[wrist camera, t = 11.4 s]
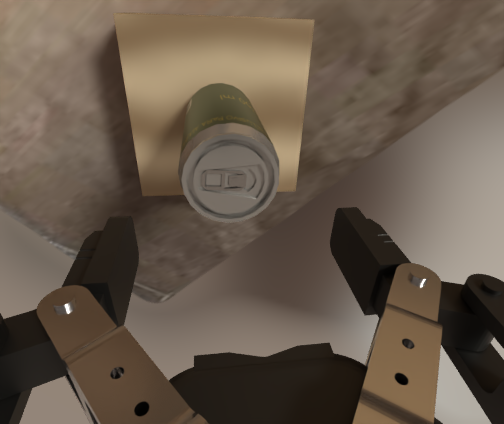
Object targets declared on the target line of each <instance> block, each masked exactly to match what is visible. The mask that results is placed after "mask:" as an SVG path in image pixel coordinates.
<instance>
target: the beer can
mask: <svg viewBox="0 0 504 424" xmlns="http://www.w3.org/2000/svg"><path fill="white" fill-rule="evenodd" d="M178 175H179V180H180V185H181V187H182V189H183V191H184V195H185V196H186V198H187V200H188V201H189V203H190V205H191V206H192V207H193V208H194V209H195V210H196V211H198V212H199V213H200V214H201V215H203V216H205V217H207V218H209V219H212V220H214V221H220V222H227V223H230V222H239V221H244V220H246V219H249V218H251V217H254V216H256V215H257V214H259V213H260V212H261V211H262V210H264V209H265V208H266V207H267V206H268V205H269V203H270V202H271V201H272V199H273V198H274V197H275V194H276V191H277V188H278V185H279V175H280V174H279V158H278V156H277V153H276V150H275V148H274V146H273V144H272V142H271V140H270V138H269V136H268V134H267V132H266V130H265V129H264V127H263V125H262V123H261V121H260V119H259V117H258V115H257V114H256V112H255V110H254V108H253V106H252V104H251V102H250V100H249V99H248V98H247V97H246V95H245V94H244V93H243V92H242V91H241V90H239V89H237V88H236V87H234V86H232V85H228V84H224V83H216V84H209V85H207V86H205V87H203V88H201V89H199V90H198V91H197V92H196V93H195V94H194V95H193V96H192V98H191V100H190V102H189V104H188V105H187V111H186V117H185V124H184V131H183V138H182V146H181V153H180V160H179V167H178Z"/></svg>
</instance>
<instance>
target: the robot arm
mask: <svg viewBox="0 0 504 424" xmlns="http://www.w3.org/2000/svg"><path fill="white" fill-rule="evenodd" d="M330 247H331V252H332V255H333V256H334V258H335V260H336V262H337V264H338V266H339V268H340V270H341V272H342V273H343V275H344V277H345V279H346V281H347V283H348V284H349V287H350V288H351V290H352V292H353V294H354V296H355V298H356V300H357V301H358V303H359V305H360V307H361V309H362V311H363V313H364V314H365V315H374V314H377V315H378V317H379V321H378V324H377V327H376V330H375V333H374V337H373V340H372V343H371V346H370V350H369V353H368V356H367V360H366V363H365V365H364V364H362V363H360V362H358V361H356V360H354V359H352V358H349V357H346V356H342V355H339V354H334V353H333V351H332V348H331V346H330V343H321V344H311V345H301V346H296V347H293V348H290V349H287V350H284V351H282V352H279V353H276V354H273V355H271V356H268V357H258V356H251V355H244V354H236V353H219V354H208V355H197V356H194V367H193V368H190V369H187V370H185V371H183V372H181V373H179V374H178V375H176V376H174V377H173V378H171V379H170V380H169V381H168V380H167V378H166V377H165V376H164V374H163V373H162V372H161V371H160V369H159V368H158V367H157V366H156V365H155V363H154V362H153V361H152V360H151V358H150V357H149V356H148V355H147V353H146V352H145V351H144V350H143V348H142V347H141V346H140V345H139V343H138V342H137V341H136V340H135V338H134V337H133V336H132V335H131V333H130V332H129V331H128V330H127V329H126V327H125V326H124V322H125V318H126V313H127V310H128V305H129V301H130V297H131V293H132V289H133V284H134V280H135V276H136V272H137V267H138V261H139V253H138V246H137V240H136V235H135V230H134V224H133V220H132V217H131V216H124V217H110V218H109V219H108V221H107V224H106V226H105V228H104V231H94V232H93V233H92V234H91V235H90V236H89V237H87V238H86V239H85V240H84V242H83V245H82V247H81V249H80V251H79V253H78V255H77V257H76V260H75V261H74V263H73V265H72V267H71V269H70V271H69V273H68V275H67V277H66V279H65V281H64V284H63V285H62V287H61V288H59V289H56V290H54V291H52V292H51V293H49V294H48V295H47V296H45V297H44V298H43V299H42V300H41V301H40V303H39V304H38V306H37V309H35V310H33V311H29V312H26V313H23V314H19V315H16V316H13V317H9V318H6V319H3V317H2V316H1V314H0V424H19V423H20V420H21V417H22V415H23V412H24V409H25V407H26V404H27V401H28V398H29V396H30V393H31V390H32V388H33V387H36V386H39V385H42V384H44V383H47V382H50V381H52V380H55V379H57V378H60V377H63V376H65V378H66V380H67V381H68V383H69V385H70V387H71V389H72V391H73V392H74V394H75V396H76V398H77V400H78V402H79V403H80V405H81V407H82V409H83V411H84V413H85V415H86V416H87V418H88V420H89V422H90V424H443V423H441V422H440V421H439V420H437V419H436V418H435V417H434V414H435V403H436V392H437V380H438V370H439V360H440V348H441V345H442V347H443V348H444V350H445V352H446V353H447V354H448V356H449V358H450V359H451V361H452V362H453V364H454V365H455V367H456V369H457V370H458V372H459V373H460V375H461V376H462V378H463V380H464V381H465V383H466V384H467V386H468V387H469V389H470V390H471V392H472V394H473V395H474V397H475V398H476V400H477V401H478V403H479V404H480V406H481V408H482V409H483V411H484V412H485V414H486V415H487V417H488V419H489V420H490V422H491V423H492V424H504V360H503V358H502V357H501V356H500V355H499V353H498V352H497V351H496V350H495V348H494V347H493V346H492V344H491V341H492V340H493V338H494V337H495V339H496V340H497V341H498V342H499V344H500V345H501V346H502V347H503V348H504V282H503V281H501V280H499V279H497V278H494V277H491V276H489V275H484V274H474V275H471V276H469V277H468V279H467V280H466V282H465V284H464V285H462V284H455V283H449V282H443V281H441V280H440V278H439V277H438V276H437V274H435V273H434V272H433V271H432V270H430V269H428V268H426V267H424V266H422V265H419V264H414V263H411V262H410V261H409V260H408V258H407V257H406V256H405V255H404V254H403V252H402V251H401V250H400V249H399V248H398V246H397V245H396V244H395V243H394V242H393V240H392V239H391V238H390V236H388V235H387V233H386V232H385V230H384V229H383V228H382V227H381V226H380V225H379V224H377V223H375V222H374V221H373V220H371V219H366V218H365V216H364V215H363V214H362V213H361V211H360V210H359V209H358V208H357V207H352V208H338V209H337V210H336V214H335V218H334V223H333V229H332V233H331V239H330Z"/></svg>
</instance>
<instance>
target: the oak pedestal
mask: <svg viewBox="0 0 504 424" xmlns="http://www.w3.org/2000/svg"><path fill="white" fill-rule="evenodd" d="M113 15H114V21H115V27H116V34H117V40H118V46H119V52H120V59H121V65H122V71H123V77H124V83H125V90H126V96H127V102H128V108H129V115H130V121H131V127H132V133H133V140H134V146H135V152H136V158H137V165H138V171H139V177H140V183H141V190H142V196H165V195H184V191H183V189H182V187H181V185H180V180H179V175H178V167H179V160H180V153H181V146H182V138H183V131H184V124H185V117H186V111H187V105H188V104H189V102H190V100H191V98H192V96H193V95H194V94H195V93H196V92H197V91H198V90H199V89H201V88H203V87H205V86H207V85H209V84H216V83H224V84H228V85H232V86H234V87H236V88H237V89H239V90H241V91H242V92H243V93H244V94H245V95H246V97H247V98H248V99H249V100H250V102H251V104H252V106H253V108H254V110H255V112H256V114H257V115H258V117H259V119H260V121H261V123H262V125H263V127H264V129H265V130H266V132H267V134H268V136H269V138H270V140H271V142H272V144H273V146H274V148H275V150H276V153H277V156H278V158H279V174H280V175H279V185H278V188H277V191H276V192H280V191H295V190H296V181H297V172H298V163H299V154H300V145H301V136H302V127H303V118H304V109H305V100H306V91H307V82H308V73H309V64H310V55H311V46H312V37H313V28H314V20H308V19H295V18H265V17H235V16H205V15H174V14H144V13H114V14H113Z"/></svg>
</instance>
